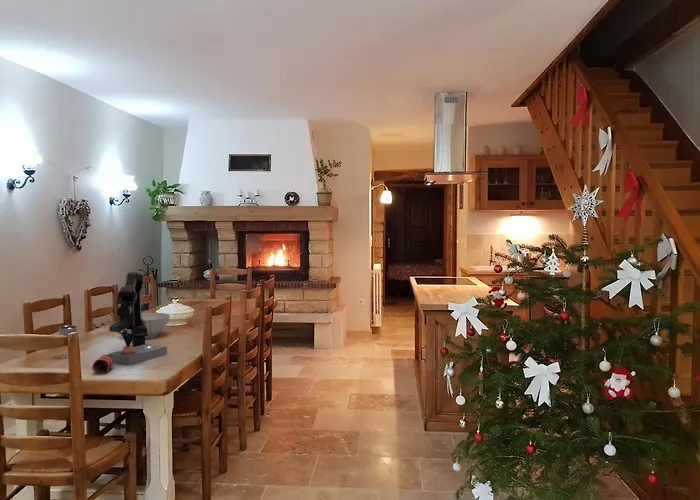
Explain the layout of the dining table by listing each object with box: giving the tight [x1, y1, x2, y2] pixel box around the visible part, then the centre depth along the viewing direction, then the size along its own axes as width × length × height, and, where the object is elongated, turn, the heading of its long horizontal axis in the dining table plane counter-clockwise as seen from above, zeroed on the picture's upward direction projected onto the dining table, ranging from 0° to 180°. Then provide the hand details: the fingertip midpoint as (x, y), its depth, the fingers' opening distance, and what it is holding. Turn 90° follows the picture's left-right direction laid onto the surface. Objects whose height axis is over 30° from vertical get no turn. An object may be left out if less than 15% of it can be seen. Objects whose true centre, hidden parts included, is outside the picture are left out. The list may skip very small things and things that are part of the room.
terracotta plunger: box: [122, 345, 133, 354], centre depth 260 cm, size 4×4×4 cm
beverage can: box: [91, 354, 115, 375], centre depth 242 cm, size 7×12×7 cm, turn 10°
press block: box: [108, 343, 168, 366], centre depth 266 cm, size 14×24×4 cm, turn 155°
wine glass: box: [58, 325, 78, 359], centre depth 268 cm, size 8×8×15 cm
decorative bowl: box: [141, 312, 171, 339], centre depth 318 cm, size 27×27×12 cm
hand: (128, 346), depth 260 cm, fingers closed
